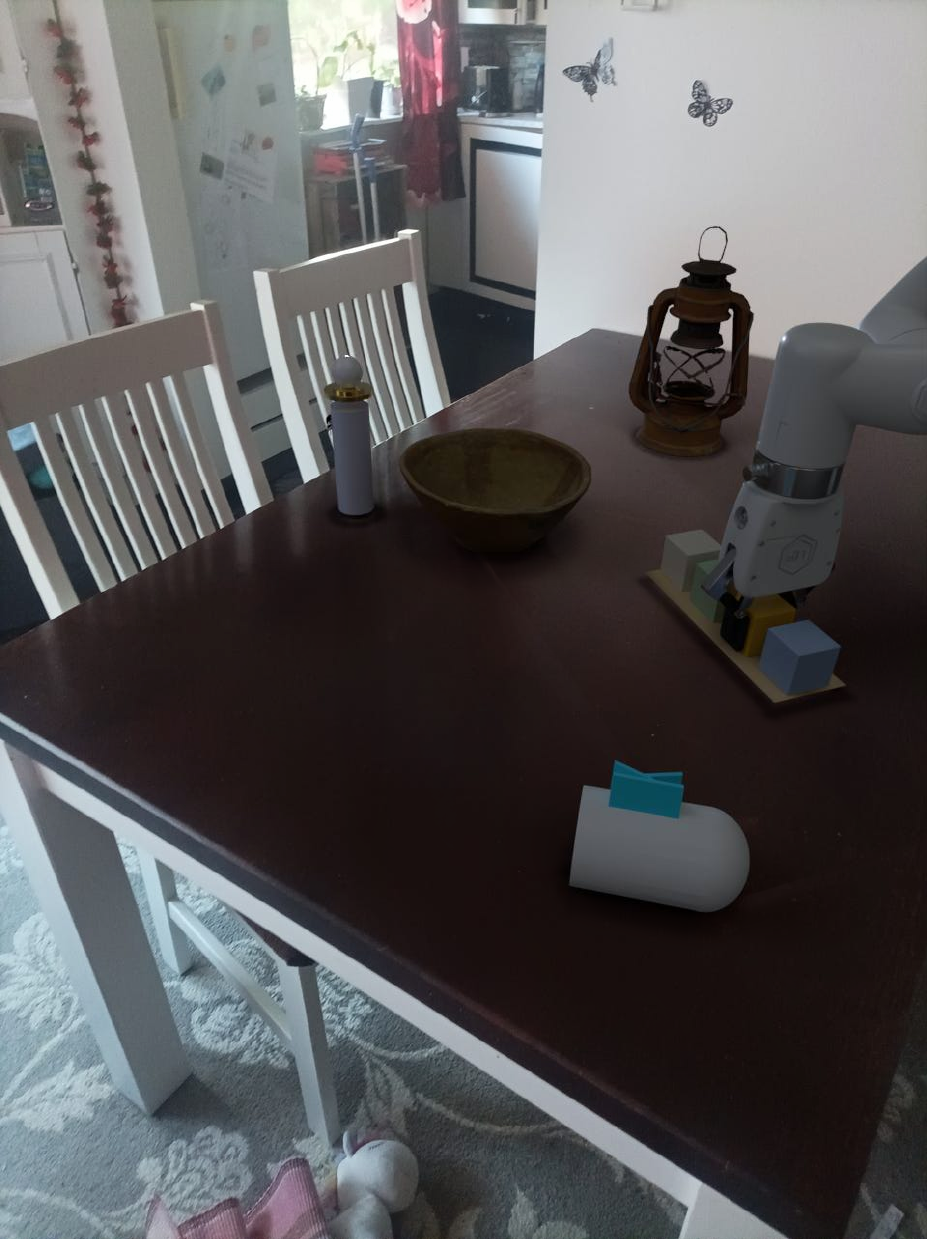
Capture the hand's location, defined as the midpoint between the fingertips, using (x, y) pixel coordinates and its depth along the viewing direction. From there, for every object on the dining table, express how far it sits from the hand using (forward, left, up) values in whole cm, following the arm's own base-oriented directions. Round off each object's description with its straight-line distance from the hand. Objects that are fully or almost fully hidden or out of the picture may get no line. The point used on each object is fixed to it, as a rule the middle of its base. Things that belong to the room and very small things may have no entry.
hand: (754, 636), depth 87 cm
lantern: (-21, -49, -2) cm, 53 cm away
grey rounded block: (+23, +21, -2) cm, 31 cm away
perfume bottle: (+31, -41, -2) cm, 51 cm away
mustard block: (0, 0, 0) cm, 0 cm away
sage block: (0, -6, 0) cm, 6 cm away
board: (0, -3, -1) cm, 3 cm away
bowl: (+17, -29, -2) cm, 34 cm away
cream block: (0, -12, 0) cm, 12 cm away
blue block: (0, +6, 0) cm, 6 cm away
